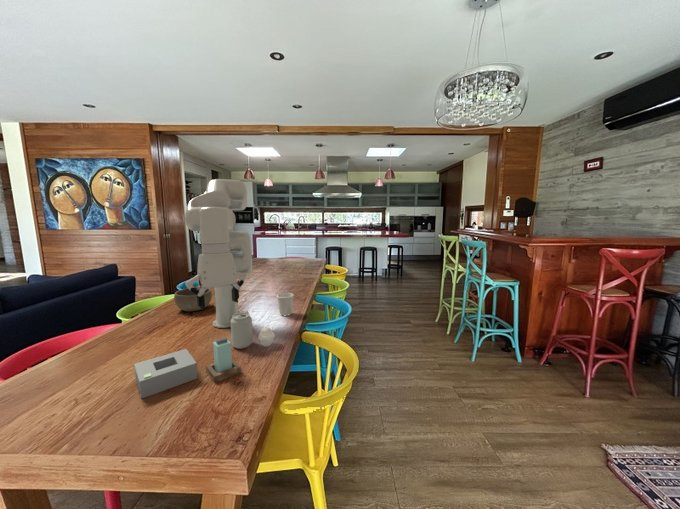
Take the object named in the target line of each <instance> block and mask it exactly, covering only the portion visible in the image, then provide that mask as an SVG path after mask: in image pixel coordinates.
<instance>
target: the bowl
mask: <svg viewBox="0 0 680 509" xmlns="http://www.w3.org/2000/svg"><path fill="white" fill-rule="evenodd" d="M193 287H194V288H195V289H198V288H199V286H196V287H195V286H193ZM211 289H212V288H210V289H206V291H205V292H204V293H203V296H204V298H205V308H206V307H208V306H209V304H210V303H211V302H212V295H213V294H212V290H211ZM173 298H174V304H175V305H176V306H177V308H178V309H180V310H181V311H183V312H188V313H189V312H196V311H200V310H202V309H201V308H200V307H198V305H197V295H196V294H194V293H193V292H191V291H190V290H189V288H188V287H186V288H183V289H179V290H177V291H175V292H174V296H173Z"/></svg>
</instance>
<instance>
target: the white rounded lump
mask: <svg viewBox="0 0 680 509" xmlns="http://www.w3.org/2000/svg"><path fill="white" fill-rule="evenodd" d="M257 338H258V341H259V343H260V344H261V346H262V347H270V346H271V345H272V344H273V341H274V340H275V333H274V332H273V331H272V329H271V328H270V327H268V326H267V327H263V328H262V329H261V331H260V332H259V334H258V336H257Z"/></svg>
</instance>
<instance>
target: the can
mask: <svg viewBox="0 0 680 509" xmlns="http://www.w3.org/2000/svg"><path fill="white" fill-rule="evenodd" d="M252 323H253V321H252V317H251V316H250V313H249V314H248V313H238V314H235V315H233V316H232V319H231V327H230V334H231V335H230V336H231V337H230V338H231V347H234V348H235V349H239V350H241V349H242V350H243V349H246V348H248V347H250V346H251V345H252V344H253V342H254V341H253V324H252Z"/></svg>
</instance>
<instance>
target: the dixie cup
mask: <svg viewBox="0 0 680 509" xmlns="http://www.w3.org/2000/svg"><path fill="white" fill-rule="evenodd" d="M276 297H277V304H278V305H277V306H278V310H279V311H278V312H279V315H280V314H281V315H288V314H291V315H292V312H293V302H294V294H293V293H292V292H282V293H278V294H277V295H276ZM281 315H280V316H281Z"/></svg>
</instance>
